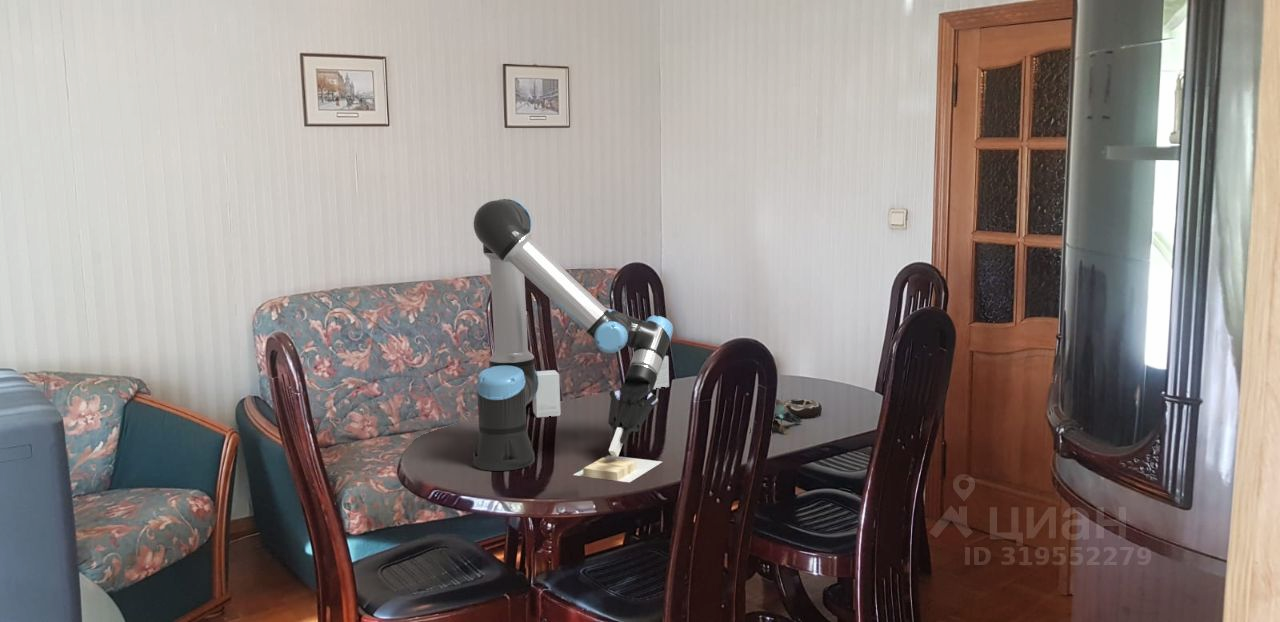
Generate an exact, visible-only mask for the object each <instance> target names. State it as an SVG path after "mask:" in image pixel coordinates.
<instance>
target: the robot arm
mask: <svg viewBox="0 0 1280 622" xmlns="http://www.w3.org/2000/svg"><path fill="white" fill-rule="evenodd" d="M531 229H532V218H531V215H530V213H529V211H528V209H527V207H525V206H524V205H523V204H522V203H521V202H518V200H517V201H516V200H515V199H511V198H509V199H508V198H502V199H501V198H500V199H495V200H490V201H488V202H486V203H484V204H482V206H480V207H479V208H478V210H477V211H476V213H475V214H474V218H473V230H474V233H475V236H476V237H477V238H478V240H479V241H480V242H481V244H482V249H483V255H484V256H485V257H486V258H488V260H489V268H490V285H491V286H490V288H491V289H490V290H491V305H492V306H491V308H492V322H493V323H492V325H493V328H492V329H493V344H494V353H493V354H492V355H491V356H490V357H489V358H488V359H489V361H488V363H489V368H484V369H483V370H482V371H480V372H479V374H478V375H477V378H476V379H477V380H476V393H477V410H478V413H477V414H478V429H479V430H478V432H479V434H478V437H477V441H476V444H475V447H474V450H473V451H474V452H473V454H472V455H473V456H472V460H473V461H472V463H473V466H474V467H475V468H477V469H480V470H482V471H483V470H484V471H492V472H494V471H495V472H504V471H514V470H520V469H523V468H527V467H529V466H532V465H533V464H534V463H535V459H536V458H535V451H534V448H533V445H532V442H531V440H530V437H529V435H528V431H527V409H526V407H527V405H528V404H530V402H532V401H533V398H534V397H535V395H536V393H537V390H538V385H539V379H538V375H537V372H536V371H537V370H536V367H535V356H534V354H532V352H530V350H529V347H528V346H529V343H528V342H529V341H528V323H527V304H526V284H525V277H526V278H527V279H528V280H529V281H530V282H531V283H532V284H533V285H535V287H537V288H538V289H539V290H540V291H541V292H542V293H543V294H544V295H546V297H548V299H550V300H551V301H552V302H553V303H554V305H555V304H556V306H558V308H559V309H561V311H563V312H564V313H565V314H566V315H567V316H568V317H570V319H572V321H574V322H575V323H576V324H577V325H578V326H579V327H580V328H581V329H582V330H583V331H585V333H586V334H588V335H589V337H591V338H592V339H593V340H594V342H595V345H596V347H597V348H598V349H599V350H600V352H601V351H602V352H604V353H606V354H614V353H617V352H619V351H620V350H623V348H624V347H625V346H626V347H628V348H630V349H635V351H634V353H633V356H632V358H631V361H630V363H629V367H628V369H627V372H626V375H625V377H624V380H623V381H624V382H623V384H622V385H621V386H620V388H619V389H618V390H616V391H614V390H610V392H609V395H610V396H609V397H610V406H609V411H608V413H609V414H608V424H609V426H610V428H611V429H612V432H611V435H610V439H609V440H610V441H611V442H610V446H609V448H608V452H609V453H610V455H611V456H613V457H618V456H619V455H620V453H621V450H622V447H623V445H626V443H627V442H628V439H629V435H630V434H631V433H633V432H635V433H636V432H639V431H640V429H641V427H642V426H643V424H644V423H645V421H646V419H647V418H648V416H649V414H650V413H651V412H652V410H653V408H654V407H655V406H656V405H658V404H659V403H660V401H659V399H658V397H657V395H656V394H653V391H654V389H653V388H654V385H655V382H656V380H657V376H658V374H659V371H660V368H661V365H662V362H663V360H664V357H665V356H666V354H667V352H668V349H669V346H670V343H671V341H672V335H673V333H674V326H673V324H672V322H671V321H670V320H669V319H667V318H666V317H663V316H661V315H658V316H657V315H651V316H649V317H647V319H646V320H641V319H638V318H636V317H633V316H630V315H628V314H625V313H622V312H619V311H618V310H617V309H611V308H607V307H605V306H604V305H603V304H602V303H600V301H599V300H597V299H596V297H594V295H592V294H591V293H590V292H589V291H588V290H587V289H586V288H585V287H583V286H582V284H580V283H579V282H578V281H577V280H576V279H575V278H574V277H573V276H572V275H571V274H570V273H569V272H568V271H566V269H564V268H563V267H562V266H561V265H560V264H559V263H558V262H557V261H555V260H554V258H552V257H551V255H549V254H548V253H547V252H546V251H545V250H544V249H542V248H541V247H540V246H539V245H538V244H537V243H536V242H535V241H534V240H533V238H532V233H531ZM621 397H622V398H621ZM620 400H621V405H620V402H619V401H620ZM619 406H620V407H619ZM619 457H620V456H619Z"/></svg>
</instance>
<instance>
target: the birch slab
mask: <svg viewBox="0 0 1280 622" xmlns="http://www.w3.org/2000/svg"><path fill="white" fill-rule="evenodd" d="M582 470H583V476H582V477H585V478H591V479H601V480H608V481H615V482H619V481H618V480H620V479H622V478H623V477H625V476H627V475H628V474H630V473H632V472H633V471H635V470H637V461H631V460H623V459H614V458H606V456H605V457H604V456H603V457H601V458H599V459H597V460H595V461H594V462H592V463H590V464H588V465H586V466H585V467H583V468H582Z"/></svg>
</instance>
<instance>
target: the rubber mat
mask: <svg viewBox="0 0 1280 622" xmlns="http://www.w3.org/2000/svg"><path fill="white" fill-rule="evenodd" d="M605 457H606V458H614V459H623V460H631V461H637V470H635V471H633V472H632V473H630V474H628V475H627V476H625V477H623V478H622V479H620V480H618V481H617V482H623V483H631V482H633V481H634V480H636V479H638V478H639V477H641V476H642V475H644V474H647V473H648V471H650V470H652V469H653V468H655V467H657V466H658V465H660V464H662V463H663V461H660V460H651V459H644V458H643V459H642V458H634V457H626V456H618V457H613V456H612V455H611V454H610V455H606V456H605ZM572 476H576V477H578V476H579V477H583V469H581V470H579V471H577V472H575V473H574V474H572Z"/></svg>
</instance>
